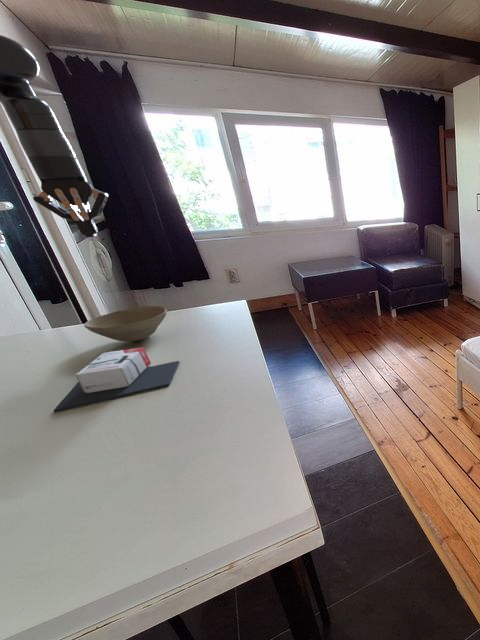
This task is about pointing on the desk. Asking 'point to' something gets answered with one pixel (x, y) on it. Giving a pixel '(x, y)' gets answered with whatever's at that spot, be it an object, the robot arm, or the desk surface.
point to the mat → (144, 382)
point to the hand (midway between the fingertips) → (92, 236)
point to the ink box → (113, 370)
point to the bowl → (128, 323)
